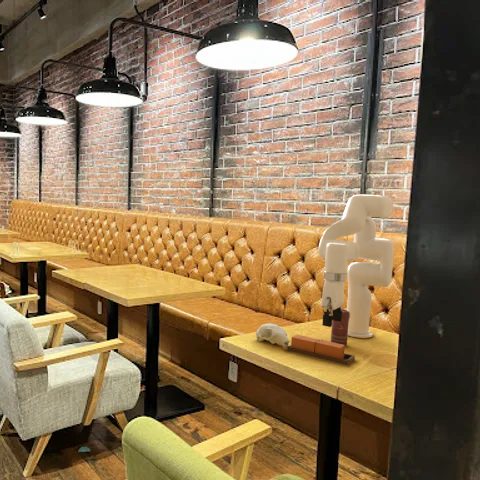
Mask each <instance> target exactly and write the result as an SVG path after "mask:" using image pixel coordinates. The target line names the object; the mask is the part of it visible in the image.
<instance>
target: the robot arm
mask: <svg viewBox="0 0 480 480" xmlns="http://www.w3.org/2000/svg"><path fill="white" fill-rule="evenodd" d="M393 208H394V204H393V200H392V199H391V197H390V196H387V195H382V194H354V195H351V196H350V197H349V198H348V200H347V203H346V205H345V207H344V211H343V214H342V216H341V219H339V220H337V221H335V222H334V223H332V224H331V225H330V226H328V227H327V228H326V229H325V230H324V232H323V233H322V236H321V238H320V240H319V243H318V248H317V252H318V255H319V257H320V258H321V259H324V271H323V272H324V273H323V281H324V282H323V288H322V295H321V304H320V307H321V308H322V323H321V324H322V325H321V326H324V327H328V328H332V320H334V321H339V322H341V319H342V310H343V305H344V300H345V284H346V283H347V298H346V299H347V301H346V311H349V312H350V319H349V324H348V336H347V337H352V338H358V339H368V338H369V339H370V338H372V337H373V332H372V331H370V320H371V308H372V292H371V291H370V289H369V288H368V287H367V286H371V287H379V288H387V287H389V286H390V285H391V282H392V277H393V268H394V267H393V266H394V253H395V247H394V243H393V241H392V240H391V239H388V238H383V237H382V238H381V237H377V236H376V235H377V224H376V223H375V221H374V219H373V218H383V219H384V218H385V219H386V218H389V217H390V216H391V215H392V214H393V213H392V212H393V210H394V209H393ZM351 235H353V241H351V240H350V241H349V240H340V238H344V237H349V236H351ZM357 259H362V260H370V261H378V262H379V263H375V262H365V261H356V260H357ZM348 262H349V265H348Z"/></svg>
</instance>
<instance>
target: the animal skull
mask: <svg viewBox="0 0 480 480" xmlns="http://www.w3.org/2000/svg"><path fill="white" fill-rule="evenodd" d="M287 333H288V332H287V331H286V330H285V329H284V328H283V327H282V326H279V324H275V323H270V322H269V323H264V324H262V325H260V326H259V328H258V329H256V330H255V337H256V340H257V341H259V342H264V341H265V340H266V342H269V343H271V344H272V345H275V344H276V343H277V344H279V345H281V346H282V347H283V349H284V350H287V347H288V346H289V344H290V343H291V341H290V339H289V338H288V334H287Z"/></svg>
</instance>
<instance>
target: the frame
mask: <svg viewBox="0 0 480 480" xmlns="http://www.w3.org/2000/svg"><path fill="white" fill-rule="evenodd" d="M286 351H287V352H291V353H295V354H299V355H303V356H307V357H312V358H316V359H319V360H323V361H327V362H332V363H336V364H340V365H344V366H348V365H350V364H351V363H352V362H354V361H355V359H356V355H354V354H350V353H345V352H344V359H339V358H335V357H331V356H326V355H322V354H318V353H314V352H310V351H306V350H301V349H297V348H293V347H291V344H290V345H288V347H287V349H286Z"/></svg>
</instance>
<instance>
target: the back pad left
mask: <svg viewBox="0 0 480 480" xmlns="http://www.w3.org/2000/svg"><path fill="white" fill-rule="evenodd" d="M319 340H320V339H319V338H315V337H310V336H307V335H306V336H305V335H301V334H295V335H293V336H291V341H290V345H291V347H293V348H297V349H301V350H306V351H310V352H314V353H315V343H316V342H317V341H319Z"/></svg>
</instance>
